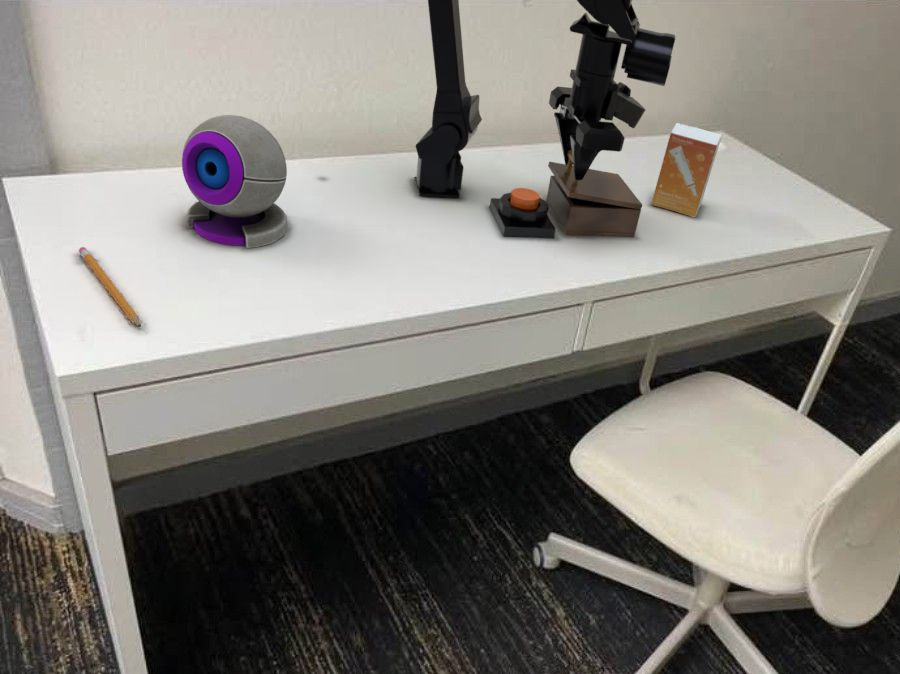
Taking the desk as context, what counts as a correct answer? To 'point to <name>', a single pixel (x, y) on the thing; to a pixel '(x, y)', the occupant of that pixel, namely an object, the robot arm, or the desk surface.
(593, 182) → the lid
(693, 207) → the small box
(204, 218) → the webcam
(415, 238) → the desk surface
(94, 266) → the pencil
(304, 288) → the desk surface
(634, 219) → the storage box
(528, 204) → the release button
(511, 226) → the panel
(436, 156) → the robot arm
